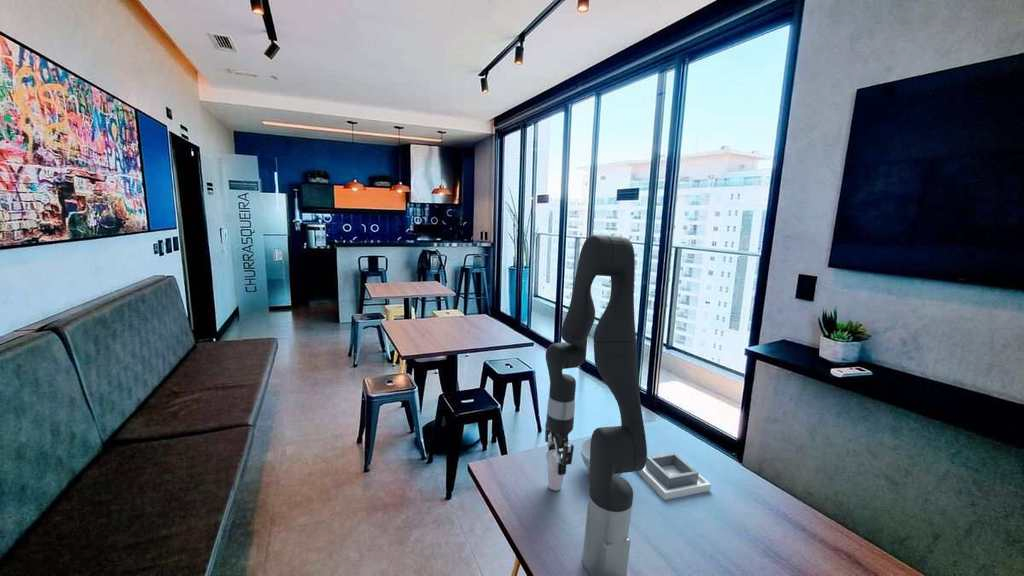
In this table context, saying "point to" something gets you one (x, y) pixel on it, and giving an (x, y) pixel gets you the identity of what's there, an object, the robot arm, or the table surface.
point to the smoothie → (553, 470)
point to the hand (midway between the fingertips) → (556, 466)
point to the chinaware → (587, 453)
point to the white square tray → (673, 476)
